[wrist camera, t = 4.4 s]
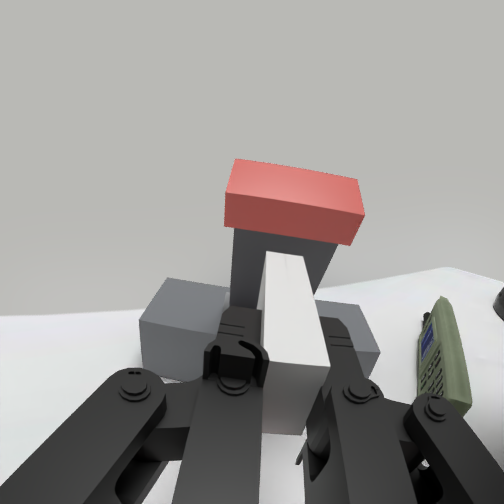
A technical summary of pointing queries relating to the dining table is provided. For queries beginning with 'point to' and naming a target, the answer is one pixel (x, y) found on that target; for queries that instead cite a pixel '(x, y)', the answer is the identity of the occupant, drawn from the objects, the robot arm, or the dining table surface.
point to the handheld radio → (443, 358)
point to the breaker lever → (286, 221)
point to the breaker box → (206, 327)
